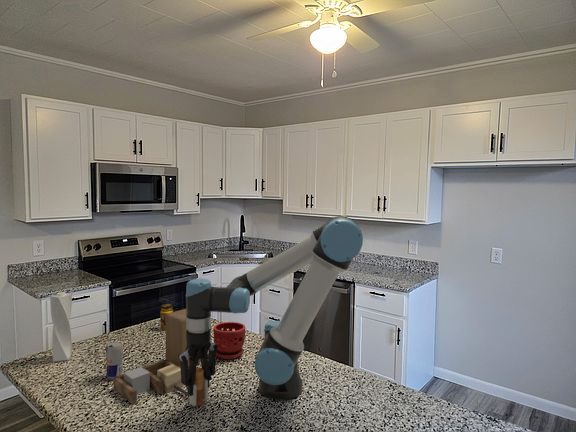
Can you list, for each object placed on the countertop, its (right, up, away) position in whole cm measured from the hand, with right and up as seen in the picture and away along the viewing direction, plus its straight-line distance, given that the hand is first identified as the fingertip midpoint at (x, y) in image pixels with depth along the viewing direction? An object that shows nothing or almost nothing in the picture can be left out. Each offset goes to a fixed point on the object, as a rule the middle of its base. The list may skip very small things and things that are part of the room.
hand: (198, 401), depth 122 cm
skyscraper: (-61, +2, +30) cm, 68 cm away
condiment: (-31, +4, +65) cm, 72 cm away
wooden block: (-13, +1, +28) cm, 31 cm away
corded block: (-7, 0, +6) cm, 9 cm away
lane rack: (-19, 0, +11) cm, 22 cm away
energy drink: (-34, +1, +17) cm, 38 cm away
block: (-23, 0, +8) cm, 24 cm away
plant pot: (+4, +1, +37) cm, 38 cm away
